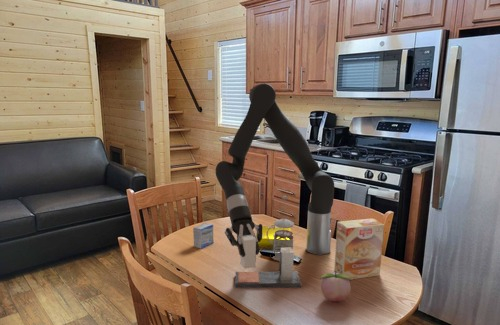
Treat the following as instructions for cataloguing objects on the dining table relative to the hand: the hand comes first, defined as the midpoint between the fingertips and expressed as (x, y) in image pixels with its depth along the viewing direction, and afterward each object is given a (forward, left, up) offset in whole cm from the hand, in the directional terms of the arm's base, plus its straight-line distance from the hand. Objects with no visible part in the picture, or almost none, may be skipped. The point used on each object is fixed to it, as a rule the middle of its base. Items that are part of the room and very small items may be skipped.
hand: (250, 254), depth 118 cm
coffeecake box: (-39, -7, -11) cm, 41 cm away
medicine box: (+19, -33, -11) cm, 40 cm away
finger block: (+1, -2, -5) cm, 5 cm away
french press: (-13, -22, -11) cm, 28 cm away
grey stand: (-6, -2, -11) cm, 12 cm away
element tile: (-12, -37, -11) cm, 40 cm away
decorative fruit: (-26, +10, -11) cm, 30 cm away
